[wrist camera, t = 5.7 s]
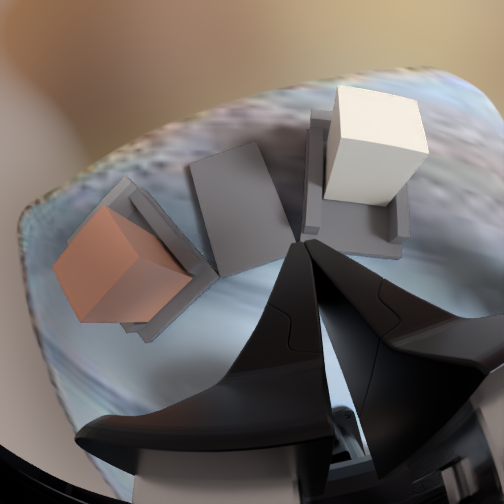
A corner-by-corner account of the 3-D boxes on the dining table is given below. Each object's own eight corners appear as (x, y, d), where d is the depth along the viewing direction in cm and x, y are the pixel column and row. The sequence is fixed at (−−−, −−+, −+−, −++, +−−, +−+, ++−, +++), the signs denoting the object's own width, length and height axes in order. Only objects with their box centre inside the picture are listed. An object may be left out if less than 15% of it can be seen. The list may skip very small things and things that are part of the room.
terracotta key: (193, 278, 20) (139, 257, 12) (148, 321, 20) (80, 322, 12) (162, 240, 21) (103, 204, 13) (121, 283, 21) (52, 266, 13)
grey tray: (437, 242, 19) (461, 229, 16) (110, 351, 21) (82, 356, 17) (372, 117, 23) (381, 90, 19) (87, 217, 24) (62, 204, 20)
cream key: (385, 206, 19) (429, 153, 12) (323, 199, 20) (341, 137, 12) (382, 162, 20) (416, 100, 12) (324, 154, 21) (337, 84, 13)
